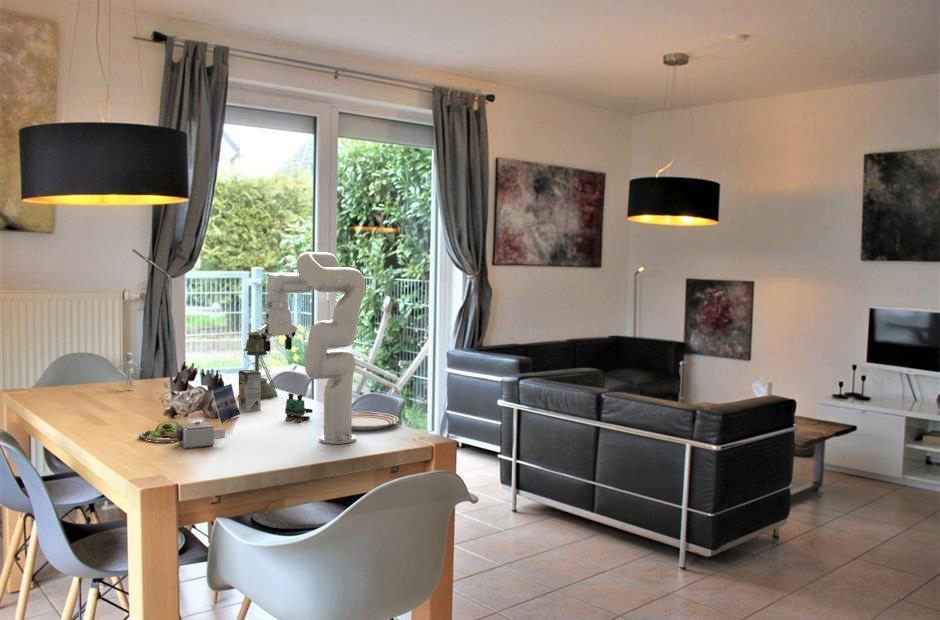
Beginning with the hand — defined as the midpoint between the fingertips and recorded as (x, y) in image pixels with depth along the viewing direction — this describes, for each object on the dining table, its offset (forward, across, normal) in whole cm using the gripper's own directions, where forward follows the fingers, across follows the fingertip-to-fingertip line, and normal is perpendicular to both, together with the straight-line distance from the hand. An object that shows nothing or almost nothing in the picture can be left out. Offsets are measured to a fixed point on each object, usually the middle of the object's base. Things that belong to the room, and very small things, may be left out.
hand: (277, 350), depth 294 cm
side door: (+27, -41, -17) cm, 52 cm away
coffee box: (+28, +8, +30) cm, 42 cm away
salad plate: (+28, -42, +6) cm, 51 cm away
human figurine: (+28, -5, +110) cm, 114 cm away
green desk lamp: (+28, +28, +54) cm, 67 cm away
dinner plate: (+28, +19, -27) cm, 44 cm away
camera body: (+28, -41, -12) cm, 51 cm away
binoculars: (+28, +9, -2) cm, 30 cm away
